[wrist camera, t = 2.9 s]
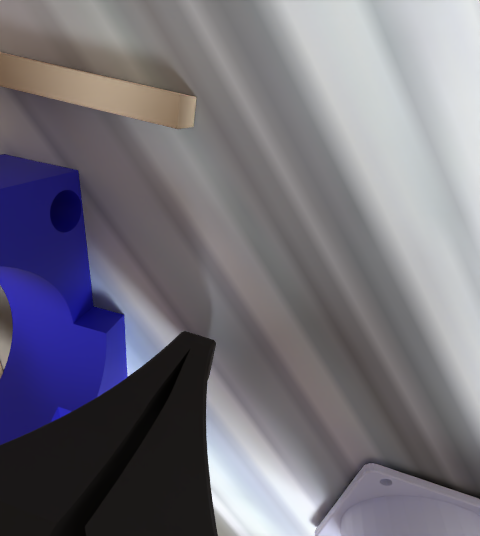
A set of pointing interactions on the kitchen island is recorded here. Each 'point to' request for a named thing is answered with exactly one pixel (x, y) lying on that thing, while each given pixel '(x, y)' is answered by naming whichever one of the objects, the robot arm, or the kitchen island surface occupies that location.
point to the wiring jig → (97, 93)
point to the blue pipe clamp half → (50, 301)
